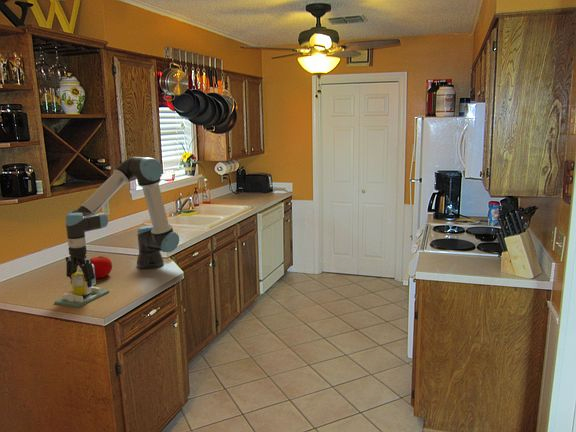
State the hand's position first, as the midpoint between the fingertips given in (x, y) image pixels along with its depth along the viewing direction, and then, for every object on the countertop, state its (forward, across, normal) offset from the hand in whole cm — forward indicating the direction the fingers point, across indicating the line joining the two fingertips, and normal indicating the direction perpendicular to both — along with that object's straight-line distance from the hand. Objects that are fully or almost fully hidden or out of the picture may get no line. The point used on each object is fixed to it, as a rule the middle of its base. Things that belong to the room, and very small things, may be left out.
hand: (82, 292), depth 223 cm
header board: (+3, 0, 0) cm, 3 cm away
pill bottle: (+3, -10, +14) cm, 17 cm away
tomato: (+3, -14, +27) cm, 30 cm away
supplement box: (+1, 0, 0) cm, 1 cm away
